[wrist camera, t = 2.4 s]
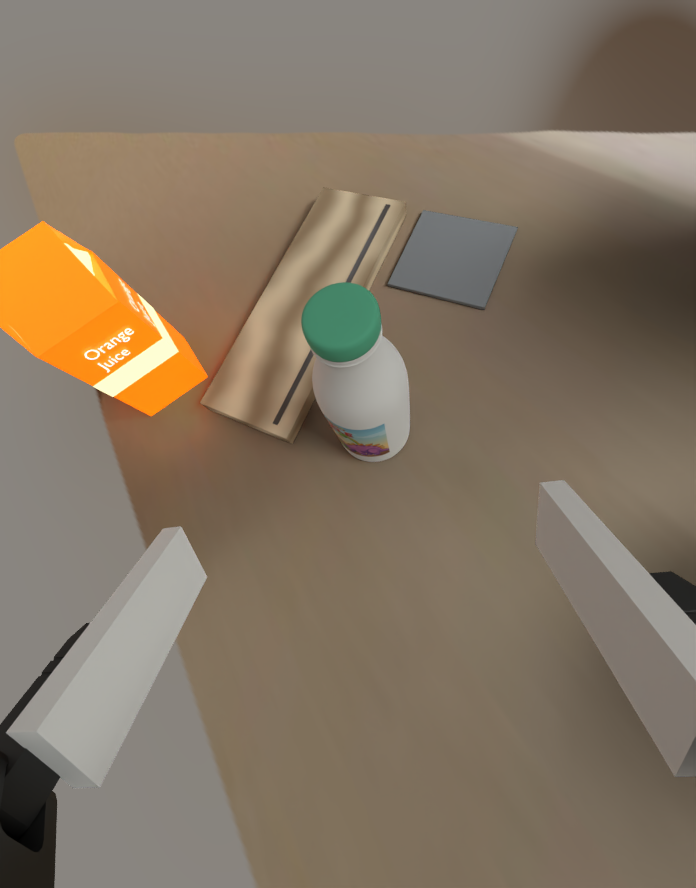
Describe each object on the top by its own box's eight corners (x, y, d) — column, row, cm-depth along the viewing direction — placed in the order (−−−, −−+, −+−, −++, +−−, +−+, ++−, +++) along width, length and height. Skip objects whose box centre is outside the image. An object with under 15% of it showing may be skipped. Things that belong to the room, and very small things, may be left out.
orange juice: (130, 374, 47) (-61, 255, 28) (184, 336, 47) (32, 193, 28) (151, 417, 44) (-44, 318, 25) (209, 377, 44) (59, 249, 25)
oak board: (406, 216, 46) (405, 201, 44) (292, 444, 40) (286, 438, 38) (326, 201, 50) (323, 186, 48) (209, 409, 43) (199, 402, 41)
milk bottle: (374, 384, 40) (340, 236, 21) (425, 427, 38) (438, 302, 19) (326, 431, 39) (247, 322, 21) (375, 478, 37) (336, 402, 18)
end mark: (516, 229, 43) (517, 227, 42) (483, 309, 40) (484, 307, 40) (423, 213, 46) (423, 210, 46) (387, 285, 44) (387, 283, 43)
